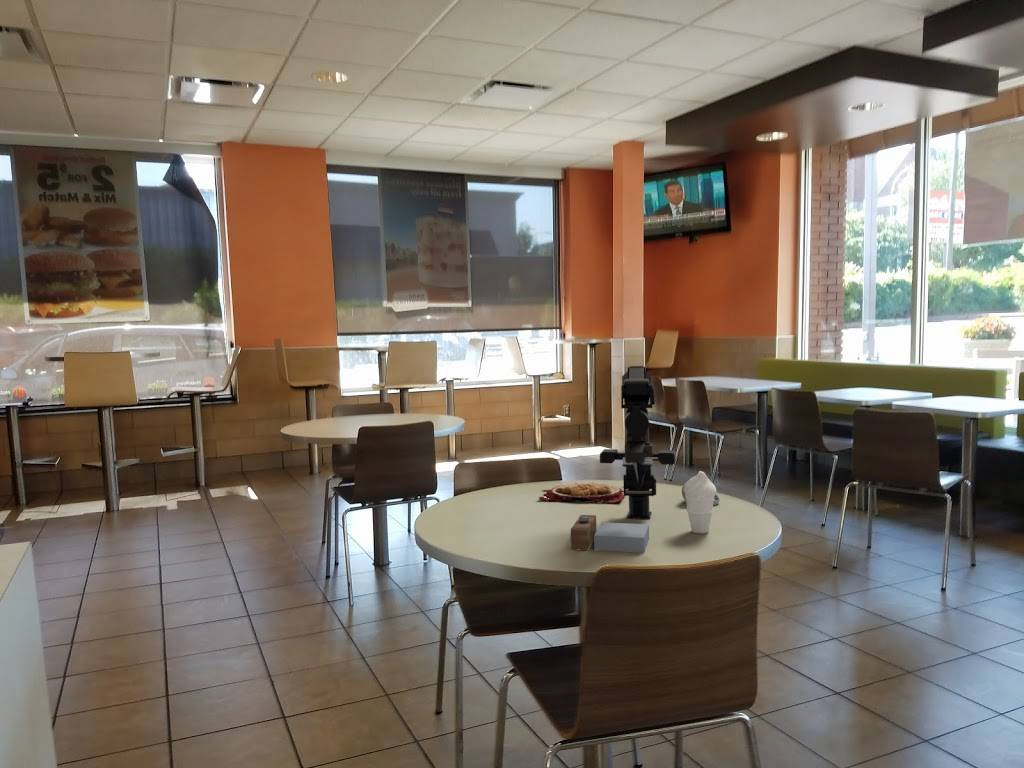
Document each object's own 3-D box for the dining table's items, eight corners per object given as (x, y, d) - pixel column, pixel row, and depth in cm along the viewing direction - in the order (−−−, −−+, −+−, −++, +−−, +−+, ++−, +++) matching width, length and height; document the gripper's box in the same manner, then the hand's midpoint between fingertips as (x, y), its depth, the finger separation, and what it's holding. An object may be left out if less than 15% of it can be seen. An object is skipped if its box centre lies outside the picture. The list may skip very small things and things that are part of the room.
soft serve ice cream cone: (677, 529, 191) (676, 469, 190) (704, 525, 194) (703, 466, 193) (696, 537, 183) (695, 475, 182) (723, 533, 186) (723, 471, 185)
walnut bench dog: (581, 533, 190) (580, 510, 190) (596, 534, 189) (596, 510, 189) (571, 549, 177) (570, 524, 176) (587, 550, 176) (586, 525, 175)
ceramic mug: (680, 503, 219) (680, 478, 218) (689, 497, 226) (689, 473, 225) (714, 508, 213) (715, 482, 212) (723, 502, 220) (723, 477, 219)
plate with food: (620, 507, 220) (620, 495, 220) (538, 502, 227) (538, 491, 227) (630, 491, 243) (630, 480, 243) (555, 486, 250) (555, 476, 250)
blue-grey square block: (602, 537, 187) (601, 522, 187) (649, 539, 184) (648, 524, 184) (594, 551, 176) (594, 535, 176) (644, 554, 173) (644, 537, 172)
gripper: (595, 433, 179) (597, 496, 180) (673, 434, 174) (674, 498, 175) (602, 427, 189) (603, 486, 191) (675, 428, 184) (676, 488, 185)
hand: (638, 490), depth 185 cm, fingers closed
